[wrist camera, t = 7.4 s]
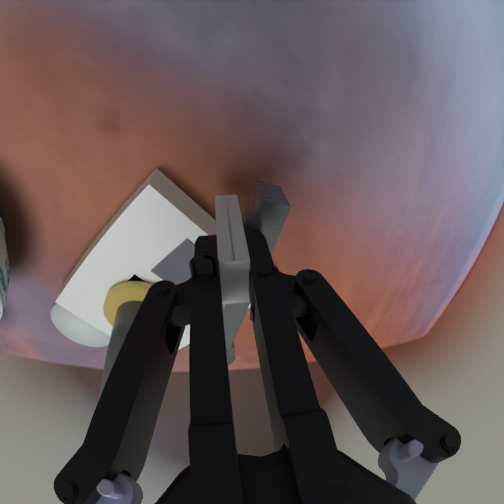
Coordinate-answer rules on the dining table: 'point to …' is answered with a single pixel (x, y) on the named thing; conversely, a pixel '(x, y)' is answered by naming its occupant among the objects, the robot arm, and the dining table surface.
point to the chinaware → (3, 269)
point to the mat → (77, 328)
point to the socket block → (138, 249)
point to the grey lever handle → (269, 224)
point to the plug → (121, 316)
